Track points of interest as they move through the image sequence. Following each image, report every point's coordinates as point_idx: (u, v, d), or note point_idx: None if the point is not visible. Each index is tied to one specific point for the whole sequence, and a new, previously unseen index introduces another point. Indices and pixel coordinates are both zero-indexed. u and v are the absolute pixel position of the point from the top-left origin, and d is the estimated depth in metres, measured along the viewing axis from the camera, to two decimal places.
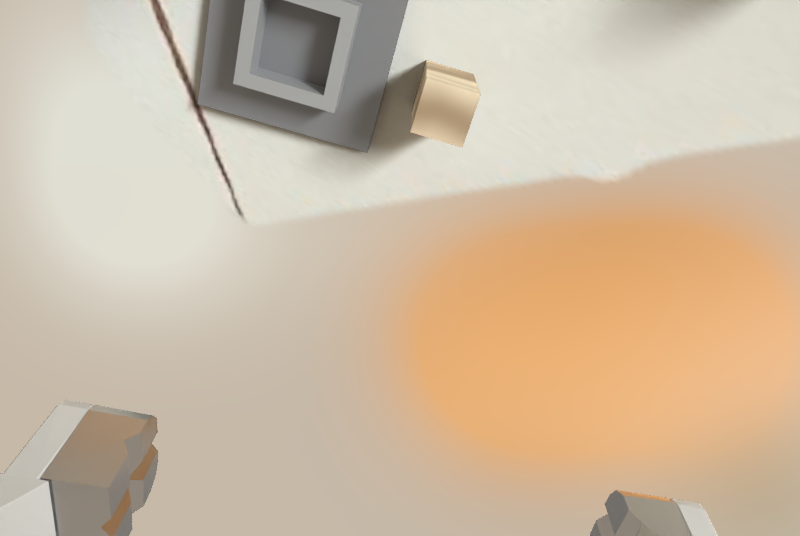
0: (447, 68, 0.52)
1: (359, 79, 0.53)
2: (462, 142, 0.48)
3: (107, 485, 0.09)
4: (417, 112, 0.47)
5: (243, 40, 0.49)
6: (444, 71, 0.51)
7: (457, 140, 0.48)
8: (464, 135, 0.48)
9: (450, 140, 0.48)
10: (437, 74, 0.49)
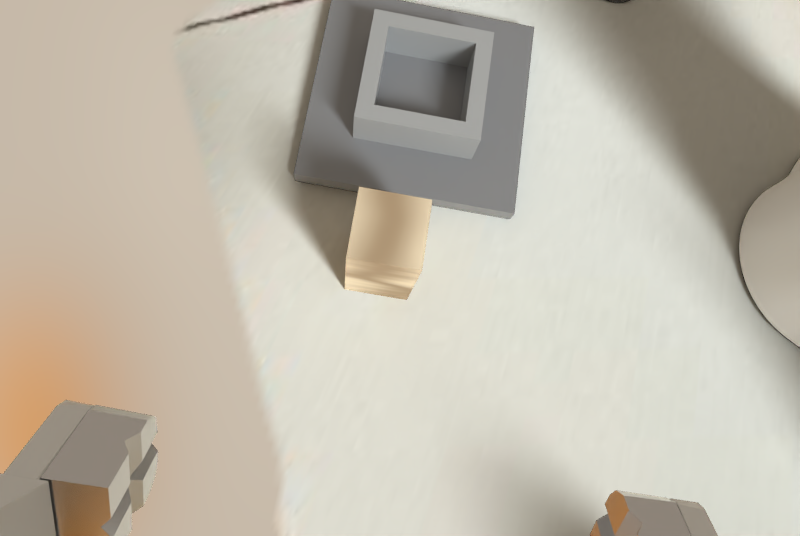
0: None
1: (386, 159, 0.43)
2: (353, 256, 0.34)
3: (107, 485, 0.09)
4: (387, 193, 0.35)
5: (424, 22, 0.43)
6: None
7: (355, 249, 0.34)
8: (363, 257, 0.34)
9: (354, 239, 0.34)
10: None
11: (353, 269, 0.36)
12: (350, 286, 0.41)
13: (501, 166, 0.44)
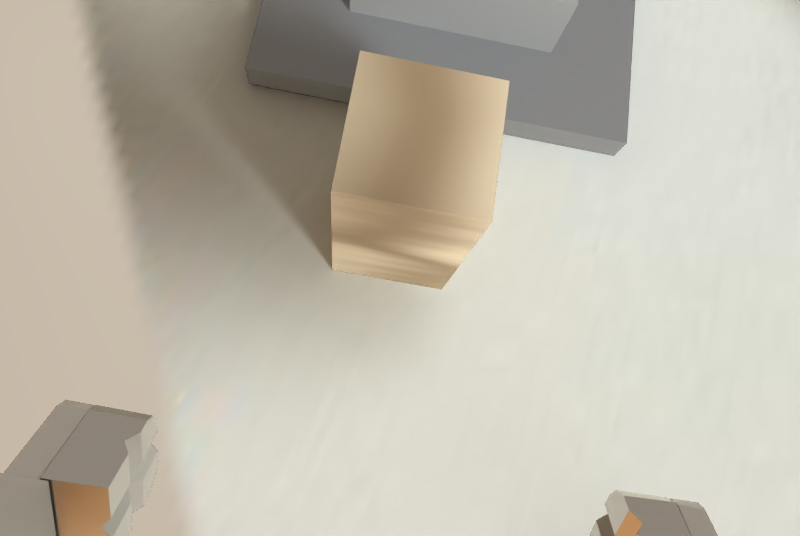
0: None
1: (407, 48, 0.25)
2: (346, 189, 0.16)
3: (107, 485, 0.09)
4: (417, 65, 0.17)
5: None
6: None
7: (350, 175, 0.16)
8: (368, 192, 0.16)
9: (349, 155, 0.16)
10: None
11: (347, 224, 0.18)
12: (342, 263, 0.23)
13: (602, 64, 0.26)
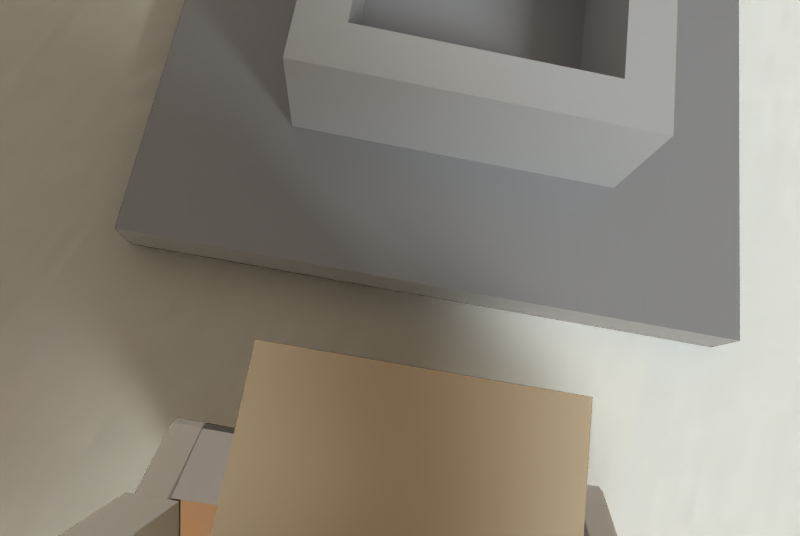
0: None
1: (385, 188, 0.16)
2: None
3: None
4: (386, 368, 0.08)
5: None
6: None
7: None
8: None
9: None
10: None
11: None
12: None
13: (694, 206, 0.16)
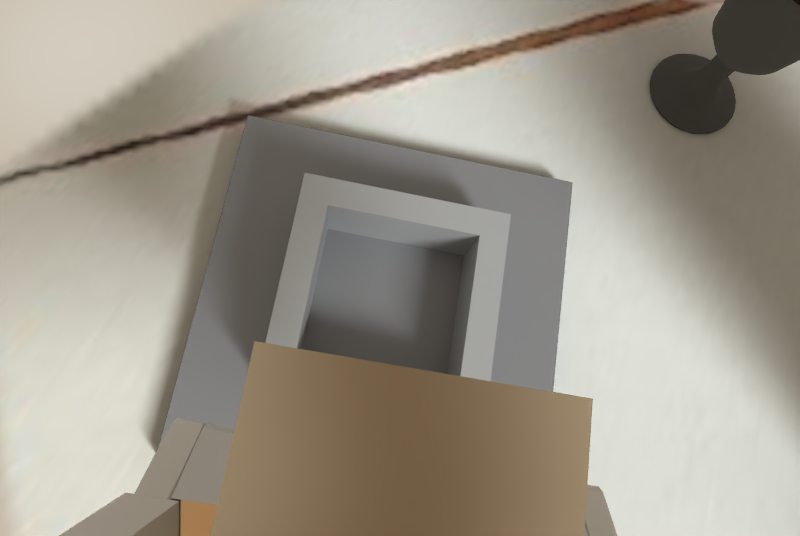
0: None
1: None
2: None
3: None
4: (386, 370, 0.08)
5: (391, 197, 0.25)
6: None
7: None
8: None
9: None
10: None
11: None
12: None
13: None
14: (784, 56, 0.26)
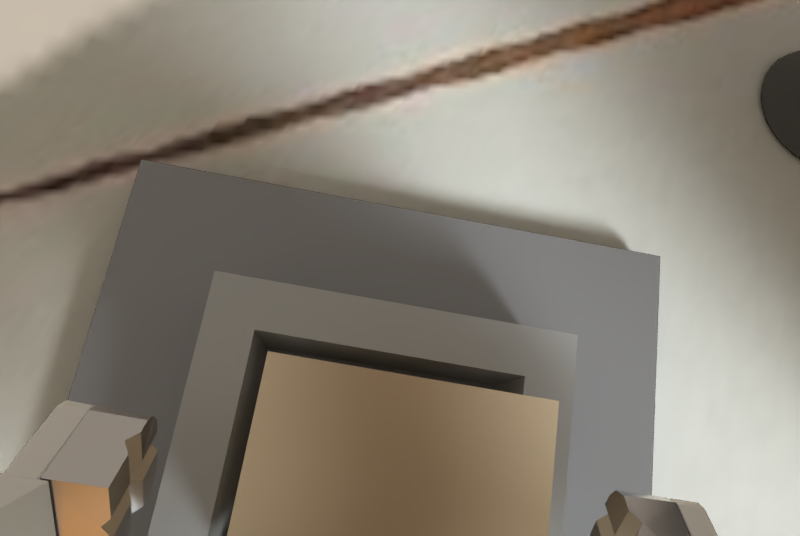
0: None
1: None
2: None
3: (107, 485, 0.09)
4: (380, 376, 0.09)
5: (367, 311, 0.14)
6: None
7: None
8: None
9: None
10: None
11: None
12: None
13: None
14: None
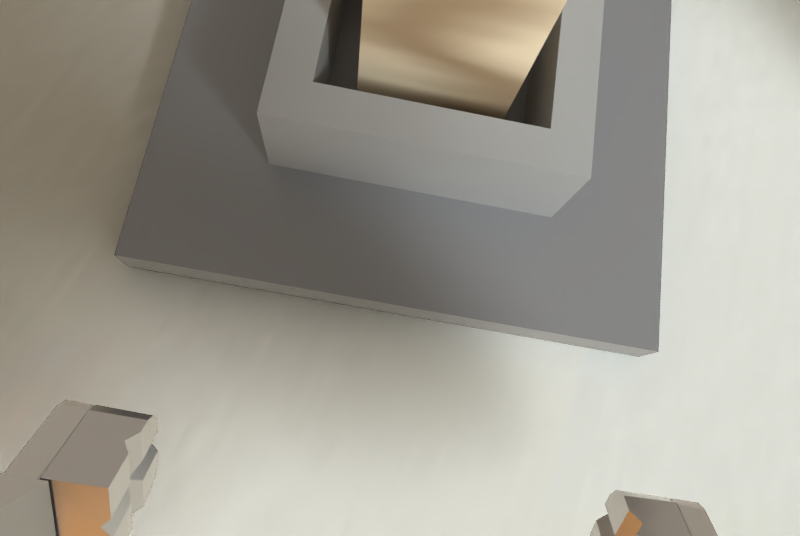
0: None
1: (350, 218, 0.18)
2: None
3: (107, 485, 0.09)
4: None
5: None
6: None
7: None
8: None
9: None
10: None
11: None
12: None
13: (622, 233, 0.19)
14: None
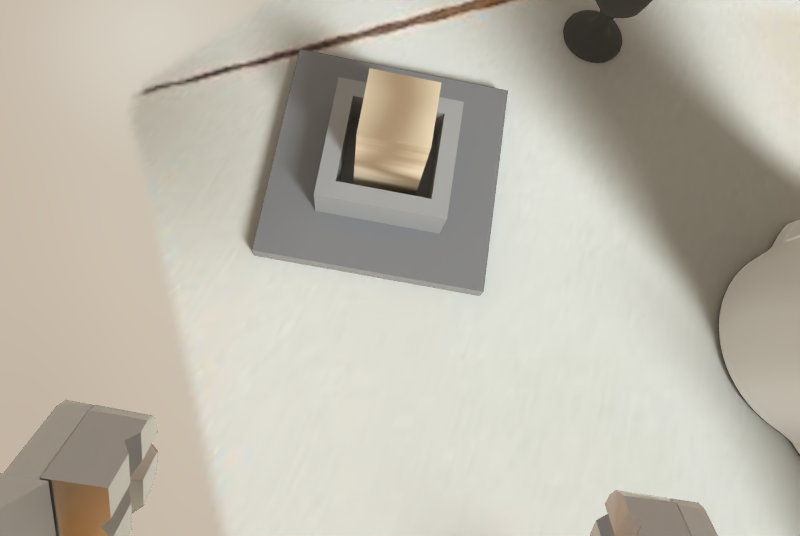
0: None
1: (350, 234, 0.41)
2: (363, 132, 0.35)
3: (107, 485, 0.09)
4: (397, 75, 0.36)
5: None
6: None
7: (365, 126, 0.35)
8: (374, 134, 0.35)
9: (364, 117, 0.35)
10: None
11: (363, 153, 0.37)
12: (358, 182, 0.41)
13: (471, 240, 0.42)
14: (632, 3, 0.42)
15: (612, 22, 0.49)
